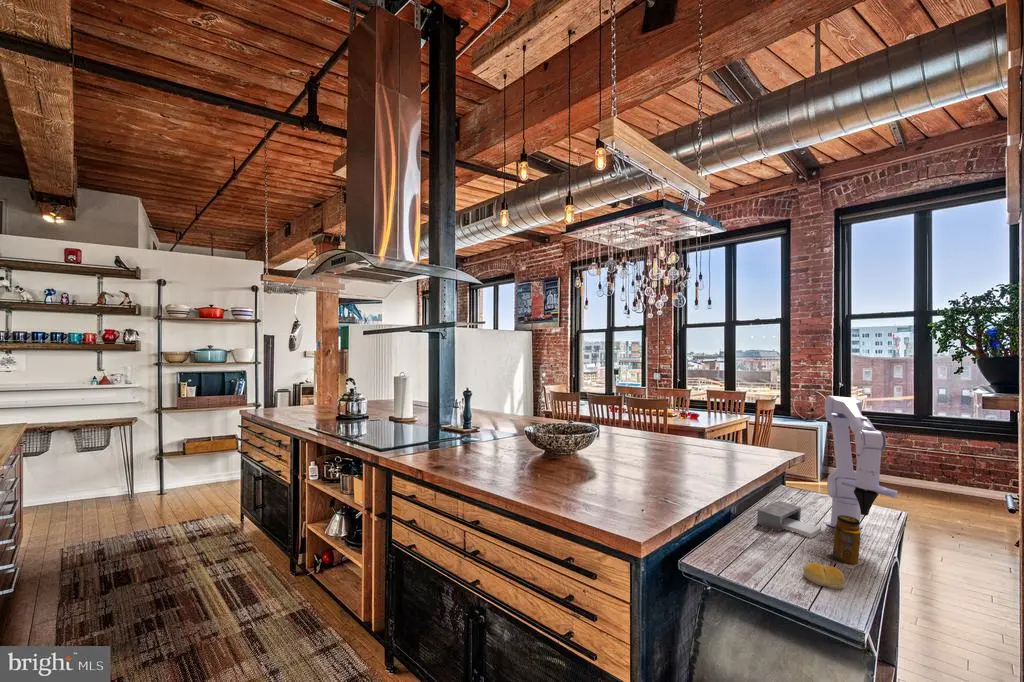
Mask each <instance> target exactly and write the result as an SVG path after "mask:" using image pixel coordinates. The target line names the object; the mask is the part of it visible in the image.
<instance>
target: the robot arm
mask: <svg viewBox="0 0 1024 682" xmlns="http://www.w3.org/2000/svg"><path fill="white" fill-rule="evenodd" d="M862 412H863V402H862V400H861V398H859V397H848V396H847V397H846V396H838V395H836V396H835V395H827V397H825V401H824V415H825V416H824V417H825V419H826V421H827V422H829V423H830V424H831V430H832V439H833V441H832V442H833V448H834V459H835V469H836V470H834V471H833V472H831V473H829V474H828V476H827V485H826V490H827V494H828V496H829V497H830V498H831V499H832V503H831V513H830V515H831V517H830V520H829V521H828V522H826V523H825V524H826V525H827V526H830V527H833V528H835V525H836V524H837V517H838V516H839V515H844V516H850V517H853V518H856V519H857V520H859V522H860V524H859V526H860V528H859V530H860V529H862V528H864V527H863V526H864V525H862V524H861V515H863V516H865V517H866V516H868V515H869V514H870V513H869V512H870V509H871V507H872V505H873V504H874V502H875V501H876V499H877V498H878V496H879V495H881V496H885V497H890V498H892V499H897V498H898V490H895V489H892V488H887V487H885V486H881V485H880V475H881V474H880V473H881V461H882V458H881V457H882V452H883V451H884V450H885V449H886V446H887V438H886V435H885V433H884V431H882V430H877V429H876V428H875V427H874V425H873V424H872V422H871V420H870V419H869V418H868V417H867V416H863V414H862ZM849 428H850V430H851V432H852V433H853V435H854V443H855V453H856V455H857V456H856V468H855V470H856V471H854V465H853V455H852V447H851V438H850V437H851V436H850V430H849Z"/></svg>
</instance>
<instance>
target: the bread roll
mask: <svg viewBox="0 0 1024 682" xmlns="http://www.w3.org/2000/svg"><path fill="white" fill-rule="evenodd" d="M803 575H804V577H805V578H806V579H808V581H810V582H811V583H813V584H816V585H819V586H820V587H827V588H830V589H835V590H842V589H844V588H845V575H844V574H843V572H842V571H841V570H840V569H838V568H836V567H834V566H832V565H825V566H823V564H820V563H817V562H810V563H808V564H806V565H804V568H803Z"/></svg>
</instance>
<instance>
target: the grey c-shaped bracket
mask: <svg viewBox="0 0 1024 682" xmlns="http://www.w3.org/2000/svg"><path fill="white" fill-rule="evenodd" d="M801 511H802V507H801V506H799V505H794V504H792V503H791V504H790V503H788V502H784V501H781V500H777V501H776V502H773V503H770V504H767V505H766V506H763V507H761V508H758V509H757V518H756V525H757V524H759V525H758V526H760V525H762V526H765V527H767V528H766V529H768V528H770V529H769V530H771V529H773V530H772V531H774V530H776V531H775V532H777V531H778V532H777V533H781V532H782V528H781V527H782V519H783V518H785V517H787V518H791V519H794V520H797V521H800V522H801ZM762 526H761V527H762ZM765 527H764V528H765ZM780 531H781V532H780Z"/></svg>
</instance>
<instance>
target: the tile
mask: <svg viewBox="0 0 1024 682" xmlns="http://www.w3.org/2000/svg"><path fill="white" fill-rule="evenodd" d="M782 528H784V529H787V530H790V531H793V532H796V533H799V534H801V535H800V536H802V535H804V536H803V537H805V536H807V537H806V538H808V537H809V538H808V539H813V538H814V537H815V536H818V535H819V534H821V532H822V531H821V529H822V528H821V527H818V526H815V525H812V524H809V523H806V522H804V521H801V520H800V521H797V520H794V519H791V518H787V517H785V518H783V519H782V527H781V529H782ZM784 529H783V530H784ZM787 530H786V531H787ZM790 531H789V532H790ZM793 532H792V533H793ZM796 533H795V534H796ZM799 534H798V535H799Z"/></svg>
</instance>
